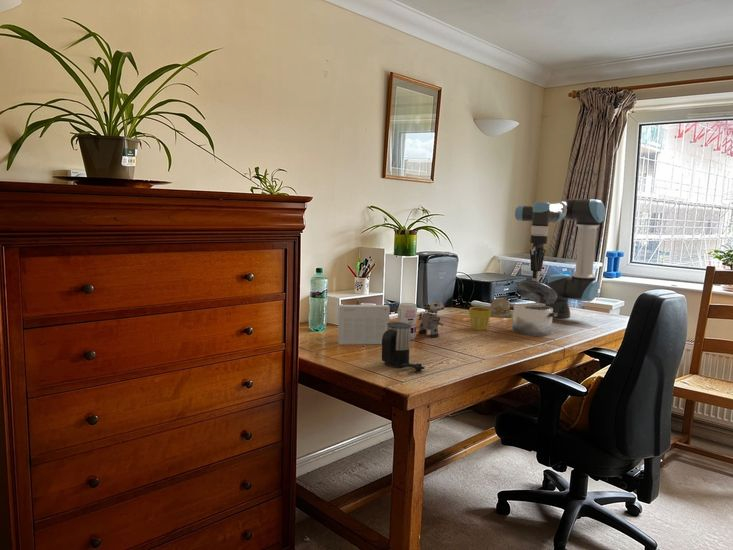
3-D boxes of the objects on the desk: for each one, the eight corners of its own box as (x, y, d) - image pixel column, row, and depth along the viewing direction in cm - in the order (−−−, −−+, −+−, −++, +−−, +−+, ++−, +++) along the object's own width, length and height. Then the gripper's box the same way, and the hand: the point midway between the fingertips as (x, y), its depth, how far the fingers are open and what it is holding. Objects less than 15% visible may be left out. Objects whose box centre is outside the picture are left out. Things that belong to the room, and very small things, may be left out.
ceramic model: (485, 315, 302) (486, 297, 301) (490, 312, 312) (492, 294, 311) (511, 319, 296) (512, 300, 295) (516, 315, 306) (517, 297, 305)
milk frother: (388, 359, 209) (390, 320, 207) (429, 364, 204) (432, 325, 202) (377, 369, 195) (379, 328, 193) (421, 375, 191) (424, 333, 189)
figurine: (447, 335, 251) (450, 303, 249) (428, 338, 244) (430, 304, 242) (434, 331, 258) (436, 299, 256) (415, 334, 251) (417, 301, 250)
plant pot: (490, 332, 262) (491, 311, 261) (467, 330, 264) (469, 309, 263) (489, 327, 272) (491, 307, 271) (468, 325, 274) (469, 306, 273)
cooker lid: (523, 300, 279) (525, 293, 280) (560, 306, 267) (563, 299, 268) (511, 281, 265) (514, 273, 267) (550, 286, 253) (552, 278, 255)
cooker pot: (519, 324, 282) (521, 301, 281) (562, 332, 268) (564, 307, 267) (501, 330, 267) (503, 305, 265) (546, 338, 253) (548, 313, 252)
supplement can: (405, 334, 249) (407, 301, 247) (419, 338, 243) (421, 304, 241) (392, 337, 243) (394, 303, 241) (407, 341, 237) (408, 306, 235)
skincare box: (386, 341, 236) (388, 304, 234) (389, 344, 231) (390, 306, 229) (336, 341, 232) (338, 303, 230) (338, 344, 227) (339, 306, 225)
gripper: (537, 234, 268) (533, 282, 271) (525, 234, 258) (521, 285, 261) (552, 235, 263) (548, 284, 266) (541, 235, 253) (536, 287, 256)
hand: (534, 284), depth 264 cm, fingers closed
